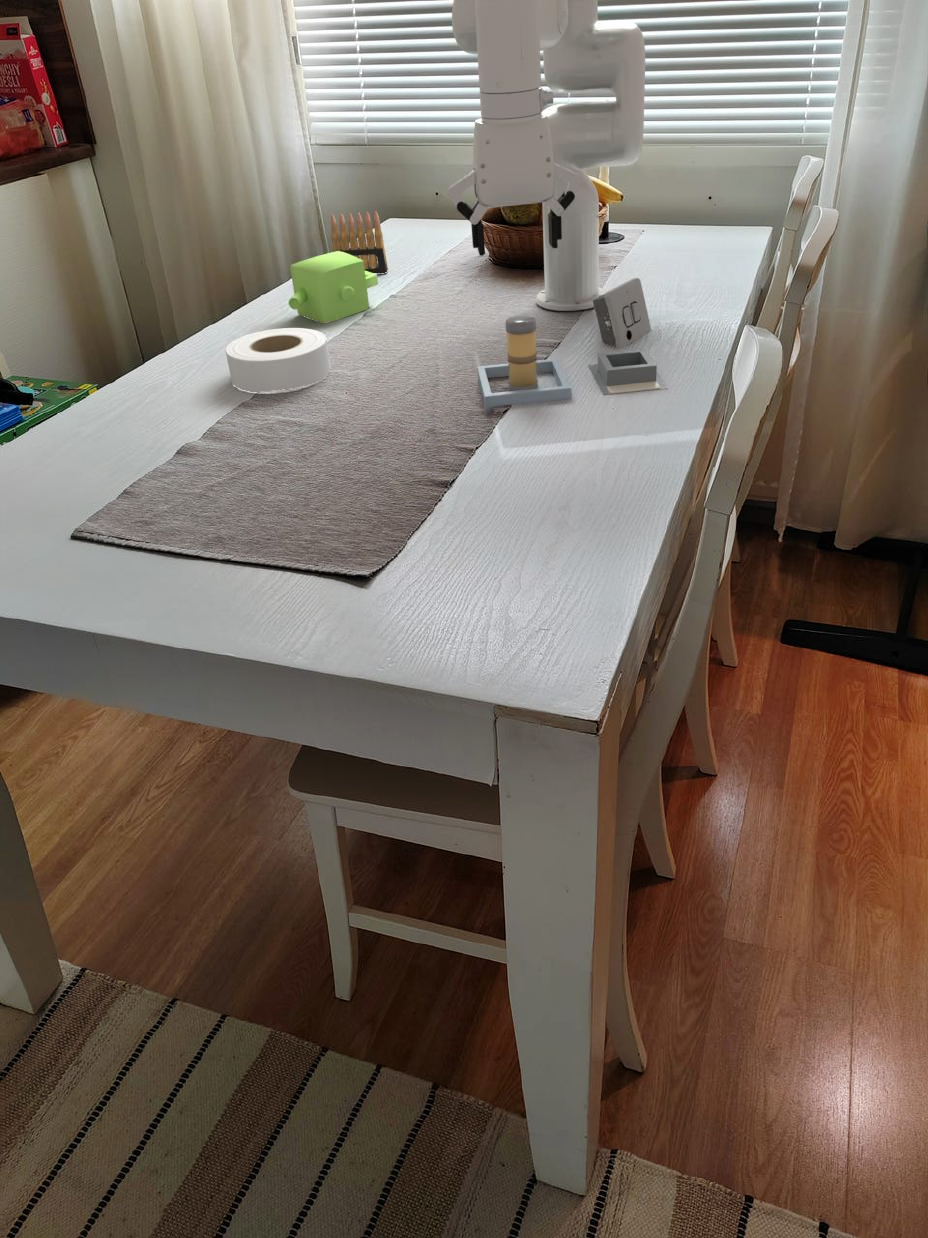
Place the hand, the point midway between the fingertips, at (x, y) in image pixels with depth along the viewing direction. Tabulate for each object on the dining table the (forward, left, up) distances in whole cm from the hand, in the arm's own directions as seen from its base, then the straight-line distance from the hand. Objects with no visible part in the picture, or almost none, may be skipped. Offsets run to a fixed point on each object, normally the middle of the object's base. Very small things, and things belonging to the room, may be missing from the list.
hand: (517, 249), depth 131 cm
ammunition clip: (-73, -24, -20) cm, 79 cm away
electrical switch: (-17, +18, -20) cm, 32 cm away
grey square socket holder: (0, +15, -20) cm, 25 cm away
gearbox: (-47, -29, -20) cm, 59 cm away
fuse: (0, 0, -20) cm, 20 cm away
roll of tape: (-17, -36, -21) cm, 45 cm away
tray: (0, 0, -20) cm, 20 cm away
